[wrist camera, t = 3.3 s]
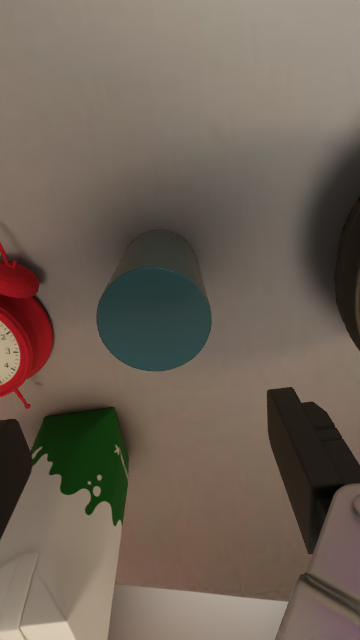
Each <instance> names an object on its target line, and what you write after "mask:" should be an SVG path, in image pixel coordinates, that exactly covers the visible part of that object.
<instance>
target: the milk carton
mask: <svg viewBox="0 0 360 640" xmlns="http://www.w3.org/2000/svg"><path fill="white" fill-rule="evenodd" d="M31 455H32V471H31V474H30V477H29V479H28V481H27V483H26V485H25V487H24V490H23V492H22V494H21V496H20V498H19V501H18V503H17V505H16V507H15V509H14V511H13V514H12V516H11V518H10V520H9V522H8V525H7V527H6V529H5V531H4V533H3V535H2V538H1V540H0V640H107V638H108V630H109V622H110V613H111V605H112V598H113V591H114V584H115V576H116V569H117V561H118V554H119V547H120V539H121V532H122V524H123V517H124V509H125V502H126V494H127V487H128V462H129V458H128V455H127V451H126V448H125V444H124V441H123V438H122V434H121V431H120V427H119V424H118V420H117V417H116V413H115V410H114V407H113V408H106V409H99V410H92V411H85V412H78V413H71V414H64V415H57V416H50V417H45V418H44V420H43V422H42V425H41V427H40V430H39V432H38V435H37V437H36V439H35V442H34V444H33V447H32V449H31Z"/></svg>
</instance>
